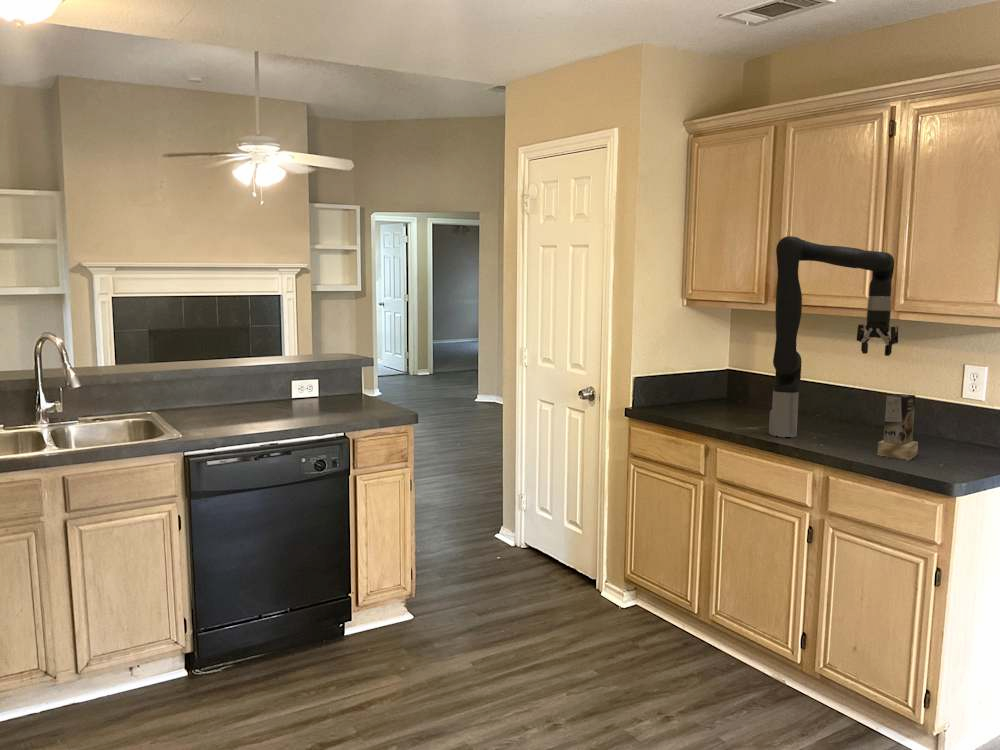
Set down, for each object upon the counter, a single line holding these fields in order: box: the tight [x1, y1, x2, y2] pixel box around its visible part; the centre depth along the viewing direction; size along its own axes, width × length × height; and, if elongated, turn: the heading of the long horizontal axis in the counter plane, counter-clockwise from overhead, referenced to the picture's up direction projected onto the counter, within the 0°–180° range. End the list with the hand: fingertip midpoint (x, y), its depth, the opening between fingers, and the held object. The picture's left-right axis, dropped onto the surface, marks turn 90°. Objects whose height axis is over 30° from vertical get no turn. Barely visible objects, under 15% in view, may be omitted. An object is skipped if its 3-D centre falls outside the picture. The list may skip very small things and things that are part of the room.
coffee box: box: [882, 393, 916, 444], centre depth 267 cm, size 9×6×16 cm
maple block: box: [877, 439, 919, 461], centre depth 268 cm, size 10×10×5 cm
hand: (875, 354), depth 279 cm, fingers open, 8 cm apart
